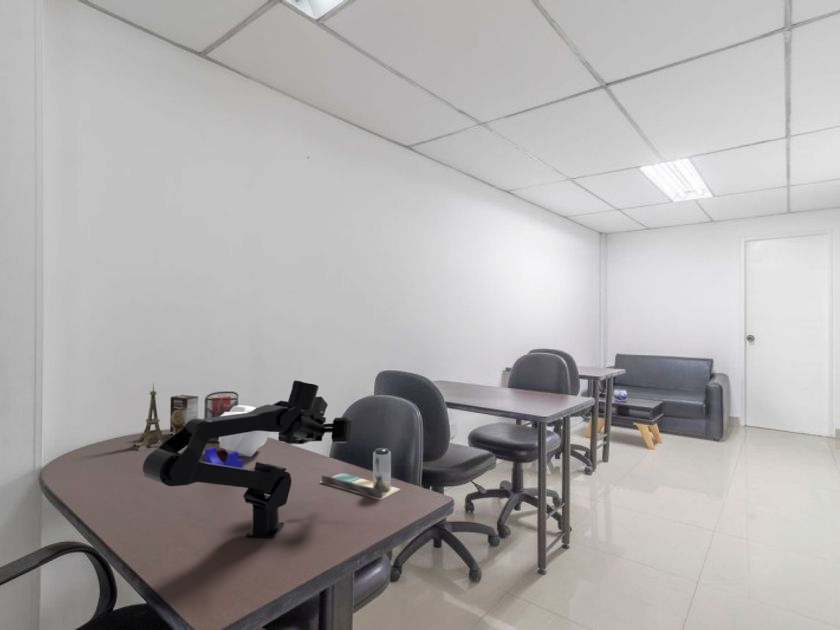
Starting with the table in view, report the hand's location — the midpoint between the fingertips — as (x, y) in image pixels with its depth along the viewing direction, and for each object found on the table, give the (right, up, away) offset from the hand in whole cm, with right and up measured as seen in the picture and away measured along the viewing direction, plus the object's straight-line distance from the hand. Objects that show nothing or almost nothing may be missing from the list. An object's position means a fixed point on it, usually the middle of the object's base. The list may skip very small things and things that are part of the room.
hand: (333, 436), depth 125 cm
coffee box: (-76, -17, +63) cm, 100 cm away
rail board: (+7, -16, +3) cm, 17 cm away
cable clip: (-40, -16, +20) cm, 48 cm away
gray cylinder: (+14, -15, 0) cm, 20 cm away
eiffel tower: (-79, -17, +46) cm, 93 cm away
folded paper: (-39, -16, +36) cm, 55 cm away
